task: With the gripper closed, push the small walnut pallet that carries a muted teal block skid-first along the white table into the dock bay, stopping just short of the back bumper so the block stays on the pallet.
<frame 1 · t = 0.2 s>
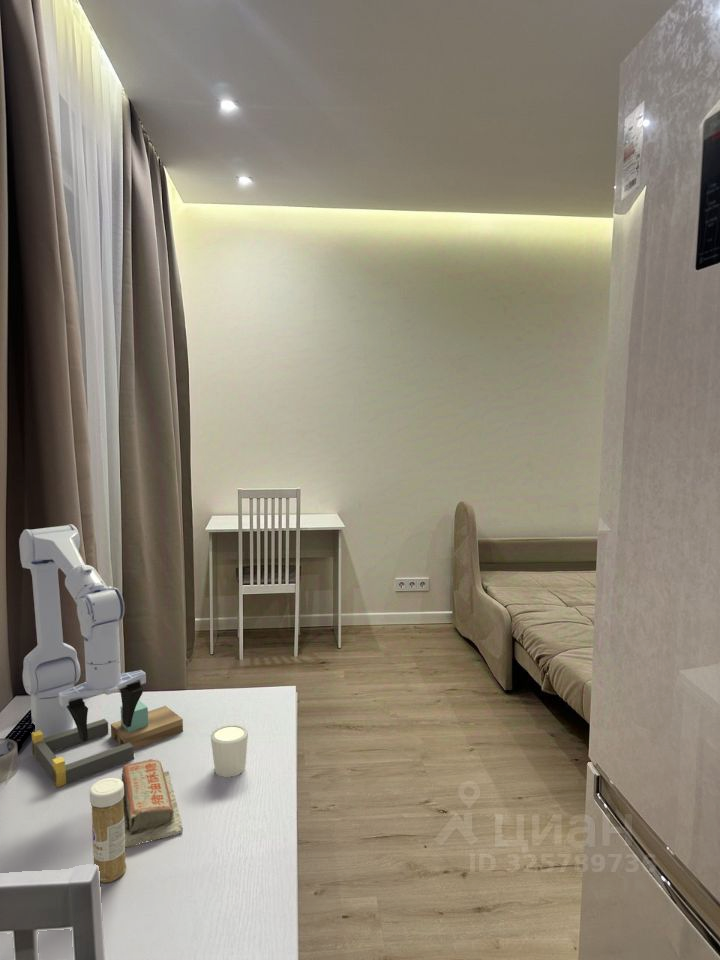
hand: (105, 732, 112), 10 cm above the table, tool pointing down, fingers open, 7 cm apart
dock: (83, 756, 123), on the table
white cup: (230, 769, 119), on the table
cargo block: (134, 725, 129), point 3 cm above the table
packaged product: (145, 812, 106), on the table
sprinkles bottle: (110, 874, 92), on the table
pallet: (147, 735, 131), on the table
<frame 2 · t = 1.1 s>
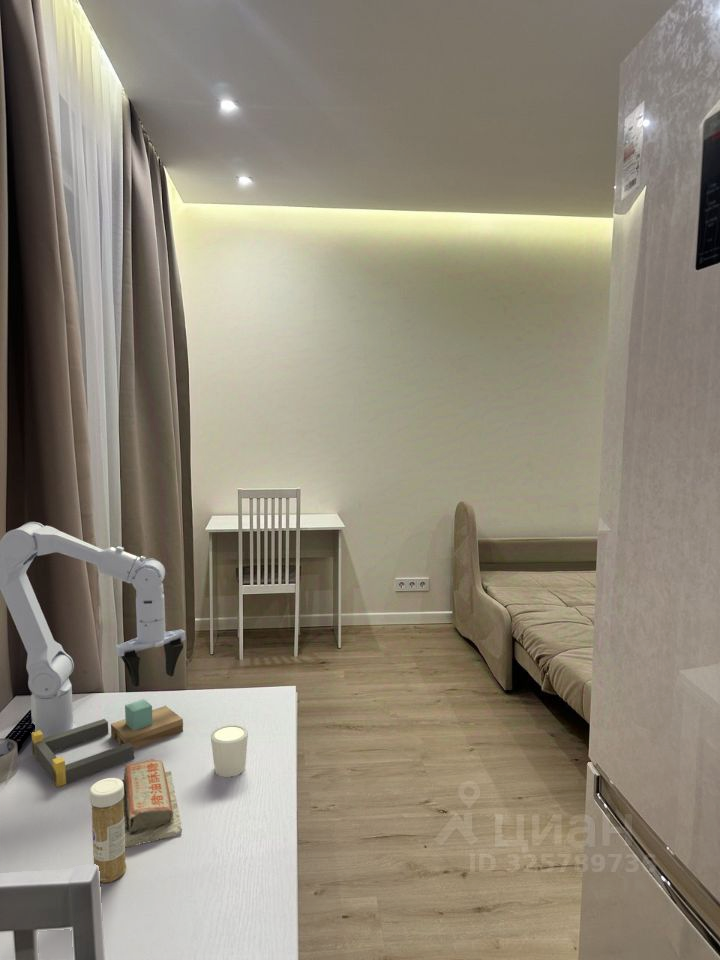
hand: (153, 679, 134), 10 cm above the table, tool pointing down, fingers open, 7 cm apart
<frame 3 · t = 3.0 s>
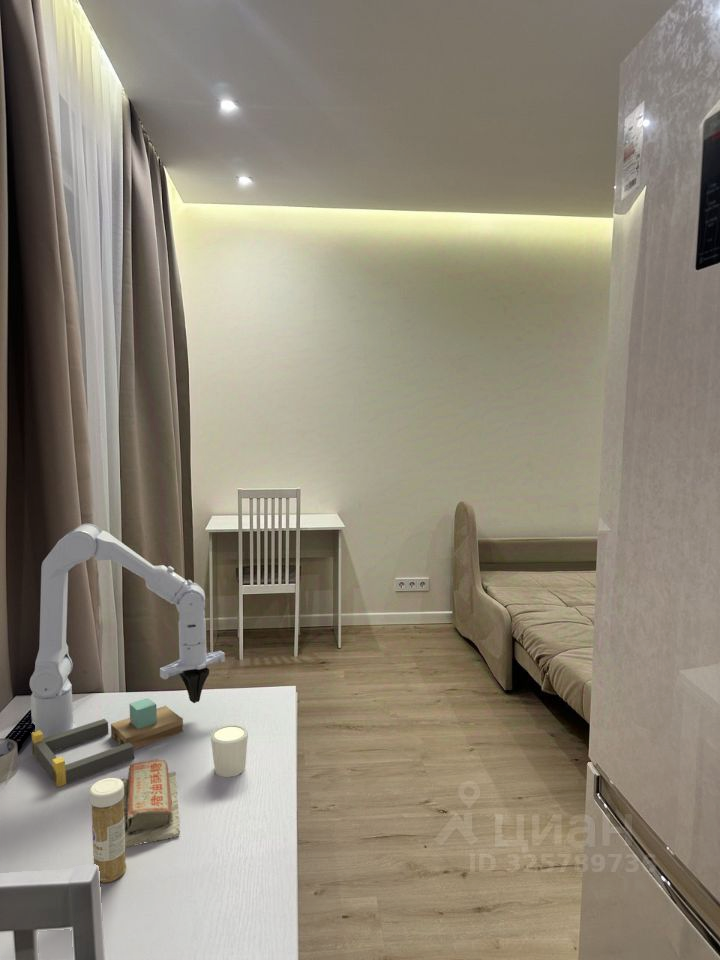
hand: (194, 700, 138), 4 cm above the table, tool pointing down, fingers closed
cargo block: (143, 722, 131), point 3 cm above the table, touching pallet
pallet: (147, 734, 131), on the table, touching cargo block
everything else where it was.
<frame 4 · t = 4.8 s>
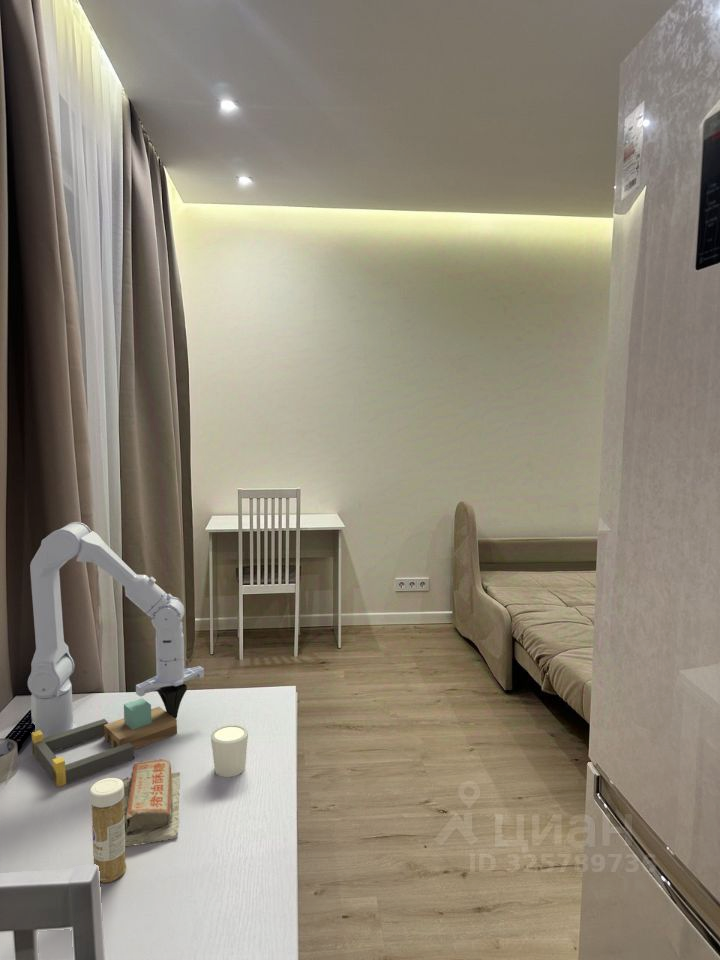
hand: (172, 717, 135), 2 cm above the table, tool pointing down, fingers closed
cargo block: (137, 723, 130), point 3 cm above the table, touching pallet
pallet: (141, 736, 130), on the table, touching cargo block, gripper
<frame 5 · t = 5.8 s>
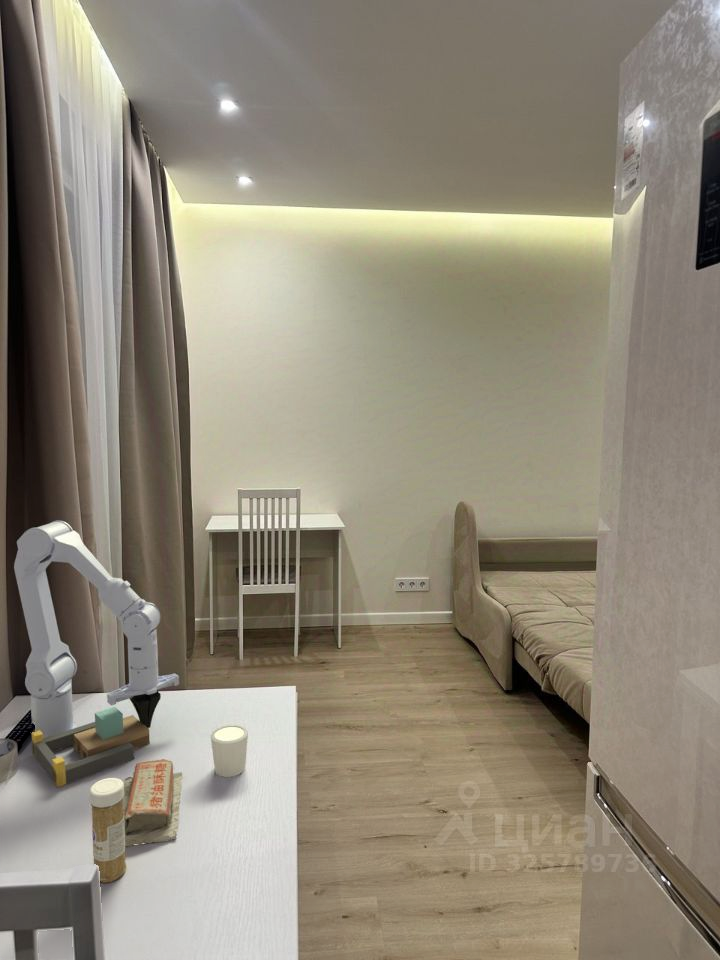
hand: (145, 726, 131), 2 cm above the table, tool pointing down, fingers closed
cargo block: (109, 732, 126), point 3 cm above the table, touching pallet
pallet: (112, 745, 126), on the table, touching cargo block, gripper
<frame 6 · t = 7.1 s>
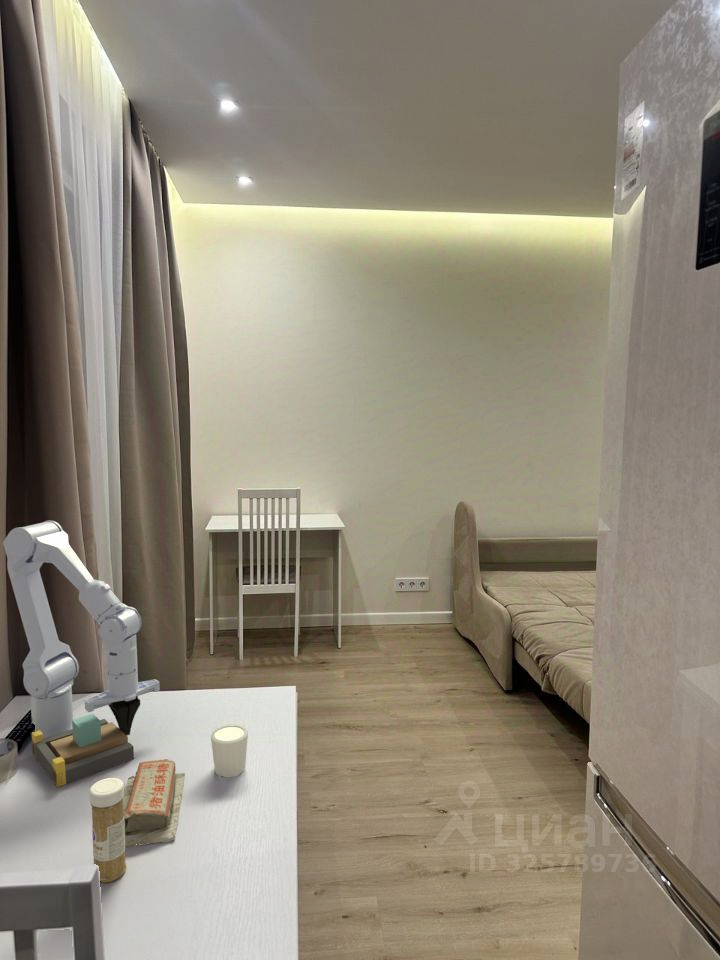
hand: (125, 733, 128), 2 cm above the table, tool pointing down, fingers closed
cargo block: (87, 740, 123), point 3 cm above the table, touching pallet
pallet: (89, 754, 124), on the table, touching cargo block, gripper
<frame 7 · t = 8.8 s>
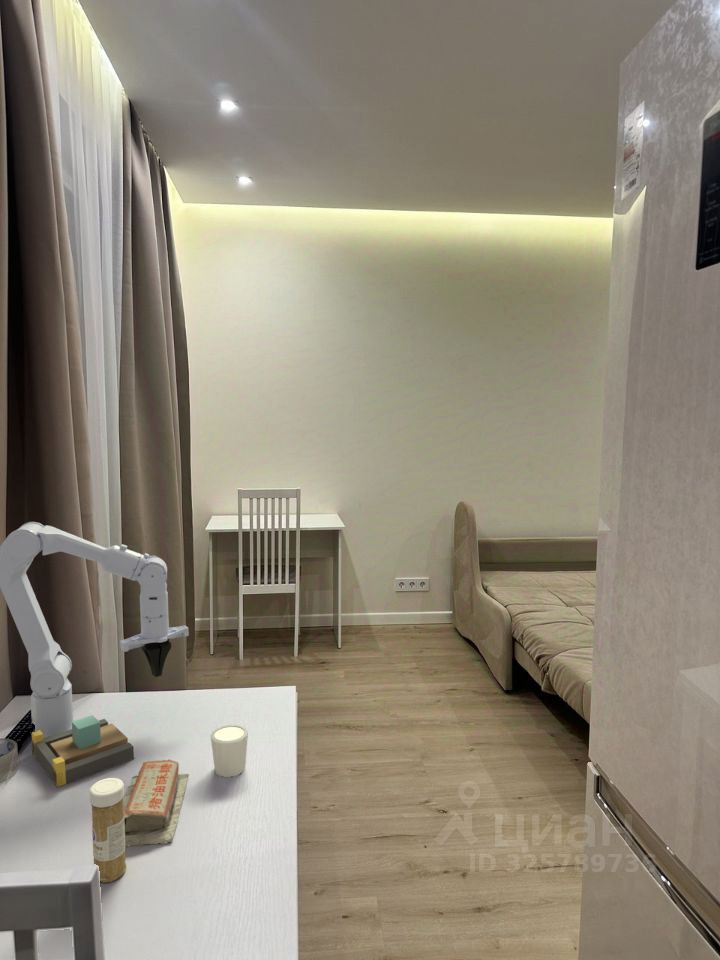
hand: (156, 675, 137), 10 cm above the table, tool pointing down, fingers closed
pallet: (89, 755, 124), on the table, touching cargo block
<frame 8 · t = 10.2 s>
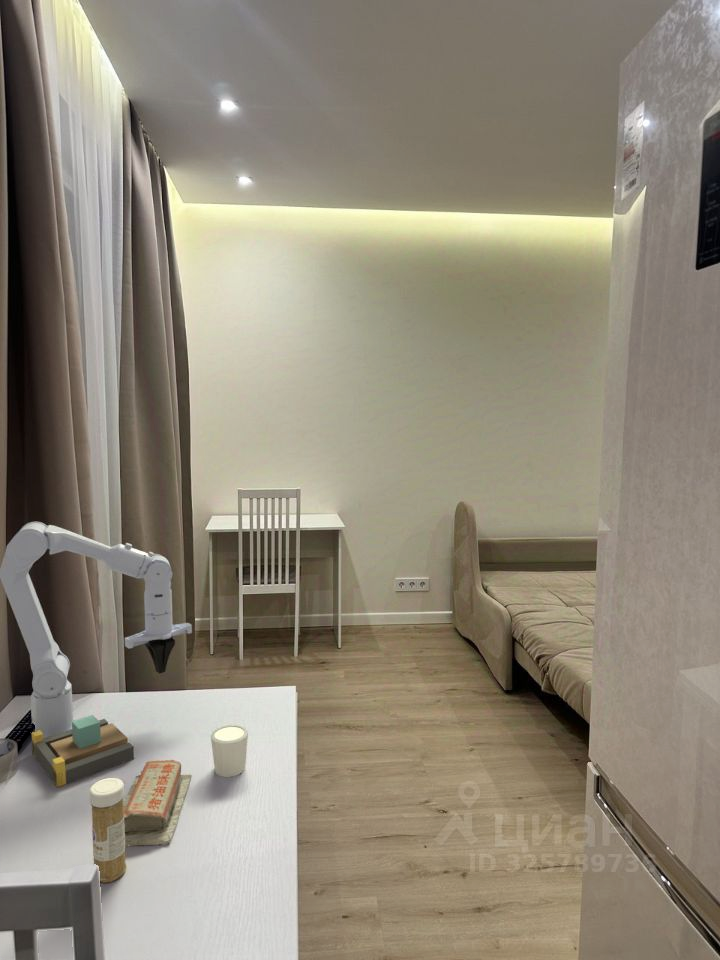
hand: (160, 671, 139), 10 cm above the table, tool pointing down, fingers closed
at the end: pallet inside the target area (0.2 cm from its centre), on the table; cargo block inside the target area on the pallet (0.4 cm from its centre), point 3.0 cm above the pallet's base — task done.
